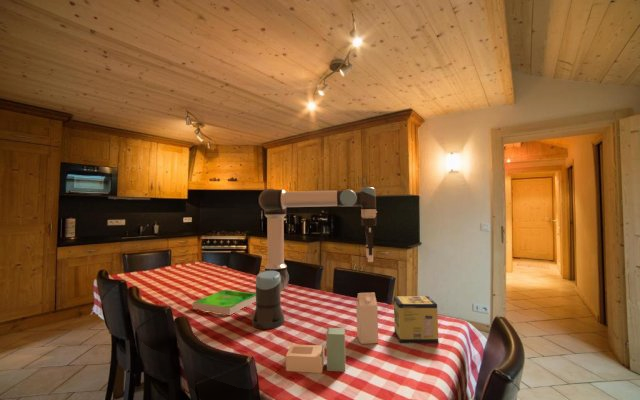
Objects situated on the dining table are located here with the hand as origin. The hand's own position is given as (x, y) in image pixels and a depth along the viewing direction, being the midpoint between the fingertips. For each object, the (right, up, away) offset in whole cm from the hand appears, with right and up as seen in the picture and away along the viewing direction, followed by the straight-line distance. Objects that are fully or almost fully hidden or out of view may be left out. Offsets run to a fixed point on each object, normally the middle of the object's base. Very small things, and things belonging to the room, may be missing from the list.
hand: (369, 259), depth 143 cm
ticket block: (-30, -27, -46) cm, 61 cm away
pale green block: (-20, -27, -47) cm, 58 cm away
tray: (-78, -31, +17) cm, 86 cm away
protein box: (+14, -27, -26) cm, 40 cm away
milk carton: (-6, -27, -28) cm, 39 cm away
